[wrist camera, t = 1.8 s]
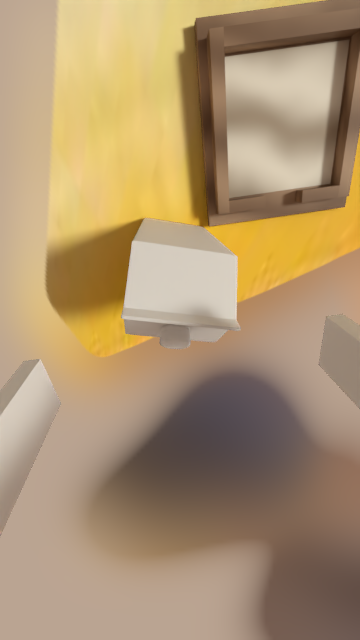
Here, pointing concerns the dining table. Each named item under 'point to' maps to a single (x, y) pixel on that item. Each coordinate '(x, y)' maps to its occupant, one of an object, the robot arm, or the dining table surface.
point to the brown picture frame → (279, 108)
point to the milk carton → (180, 285)
